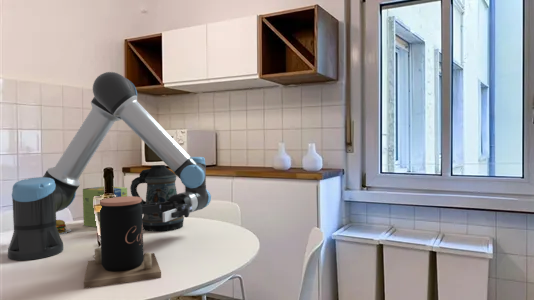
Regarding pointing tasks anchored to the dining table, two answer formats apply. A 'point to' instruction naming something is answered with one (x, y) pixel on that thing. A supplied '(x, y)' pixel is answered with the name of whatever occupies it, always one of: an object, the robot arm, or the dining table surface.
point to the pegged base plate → (103, 277)
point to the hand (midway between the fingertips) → (143, 216)
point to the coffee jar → (121, 233)
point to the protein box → (88, 202)
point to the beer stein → (157, 197)
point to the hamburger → (61, 226)
